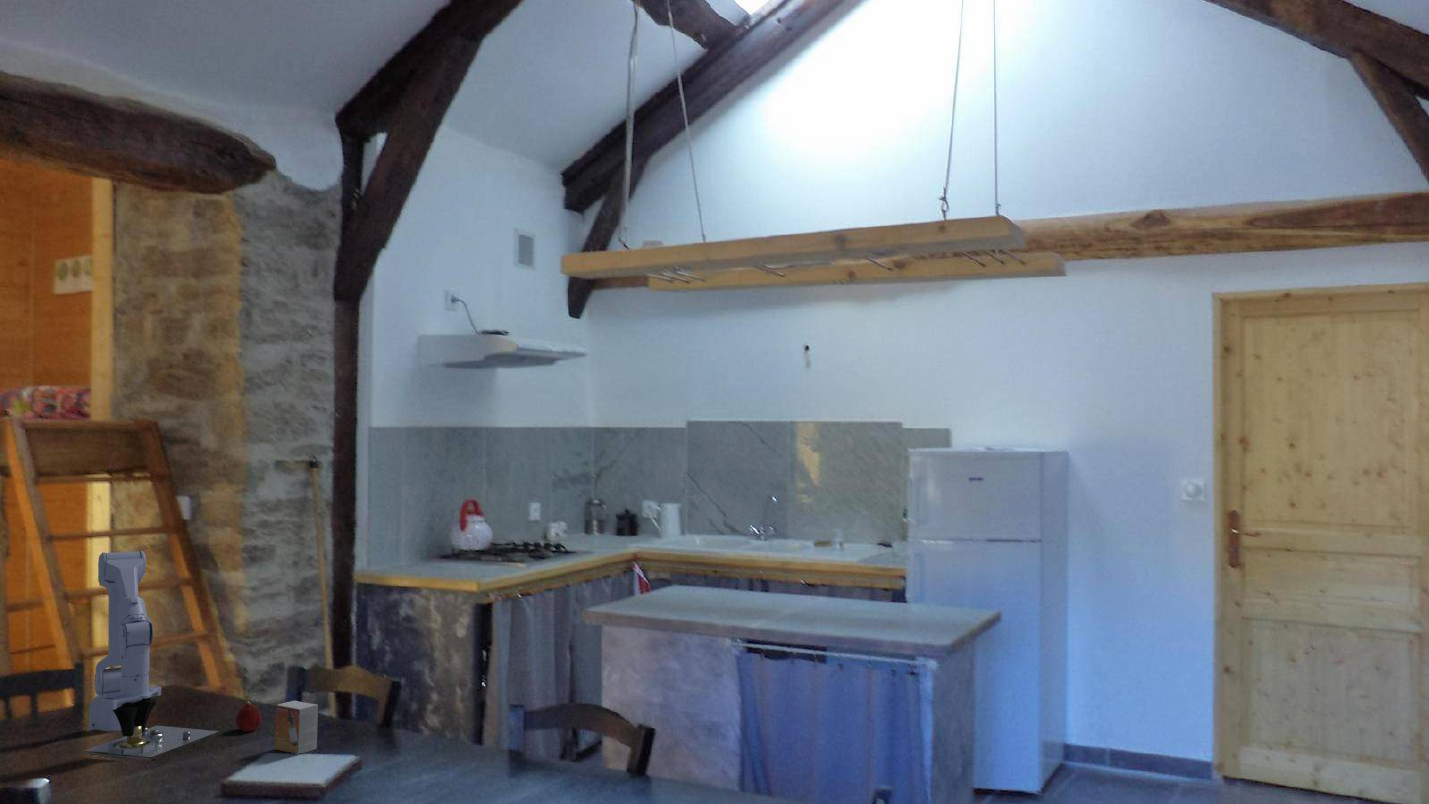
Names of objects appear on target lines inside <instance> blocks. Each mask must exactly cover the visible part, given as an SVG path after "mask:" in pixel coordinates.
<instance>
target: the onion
mask: <svg viewBox="0 0 1429 804" xmlns="http://www.w3.org/2000/svg"><path fill="white" fill-rule="evenodd" d="M261 722H262V714H261V711H260V710H259V708H258V707H257V706H255V705H253V703H251V702H250V700H247V701H246V703H245V705H244V706H242V707H241V708H240V709H239V711H237V714H236V716H235V725H236V726H237V728H238V729H239V730H240V731H241V732H245V733H247V732H248V733H249V732H253V731H255V730H256V729H258V727H259V726H260V724H261Z"/></svg>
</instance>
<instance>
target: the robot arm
mask: <svg viewBox="0 0 1429 804" xmlns="http://www.w3.org/2000/svg"><path fill="white" fill-rule="evenodd" d="M146 557H147V556H146V553H145V552H144V551H143V550H137V551H122V552H121V551H118V552H101V553H100V554H99V556H98V561H97V571H98V573H97V575H98V576H97V577H98V578H97V580H98V581H97V582H98V585H99V587H104V588H106V591H107V594H108V654H107V655H106V656H104V658H102V659H100V661H98V662H97V663H96V666H95V671H94V672H95V673H94V683H93V684H94V685H93V686H94V692H95V694H96V695H95V696H94V697H93V698H92V700H91V702H90V704H89V722H88V723H89V725H88V730H86V732H90V731H94V730H97V731H102V732H120V731H121V734H122V737H125V736H128V737H130V736H132V735H133V730H134V725H142V732H144V730H145V727H147V723H148V720H149V717H150V714H151V713H152V710H153V709H154V707H155V706H156V704H157V699H156V698H155V699H154V698H153V697H158V696H160V697H161V695H162V686H151V687H149V685H150V684H149V683H150V650H151V648H150V646H153V640H154V626H153V622H152V620H151V617H148V613H147V607H146V603H145V600H144V599H143V598H142V597H140V596H139V583H140V582H141V580H143V577H144V575H145V573H146V570H147V558H146ZM119 666H120V667H119ZM110 667H111V668H110ZM112 667H113V668H112Z"/></svg>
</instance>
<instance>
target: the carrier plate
mask: <svg viewBox="0 0 1429 804" xmlns="http://www.w3.org/2000/svg"><path fill="white" fill-rule="evenodd" d="M216 733H219V730H208V729H198V728H196V729H195V728H187V727H185V728H184V727H175V726H165V725H164V726H163V725H155V726H151V727H149V728H148V727H147V726H146V727H145V730H144V732H142V739H143V738H144V739H146V740H149V744H146V745H143V746H140V747H133V748H119V743H122V741H125V740H127V736H122V737H120V738H116V739H114V740H111V741H108V742H105V743H102V744H99V745H97V746H94V747H91V748H87V749H85V750H84V755H85V754H90V755H89V756H92V755H100V756H99V757H102V756H105V758H114V759H123V760H136V761H142V762H143V761H144V762H154V761H156V760H157V758H153V757H156V756H158V755H160V754H163V753H166V752H168V751H171V750H173V749H177V748H179V747H181V746H184V745H187V744H189V743H192V742H195V741H198V740H201V739H202V738H205V737H208V736H211V735H214V734H216ZM97 752H98V753H97ZM106 753H107V754H106ZM136 756H137V757H136Z"/></svg>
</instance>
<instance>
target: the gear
mask: <svg viewBox="0 0 1429 804" xmlns="http://www.w3.org/2000/svg"><path fill="white" fill-rule="evenodd" d="M146 744H149V740H146V739H144V738H143V739H142V725H134V730H133V735H132V736H130V737H128V736H127V740H125V741H122V743H119V748H133V747H140V746H143V745H146Z"/></svg>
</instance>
